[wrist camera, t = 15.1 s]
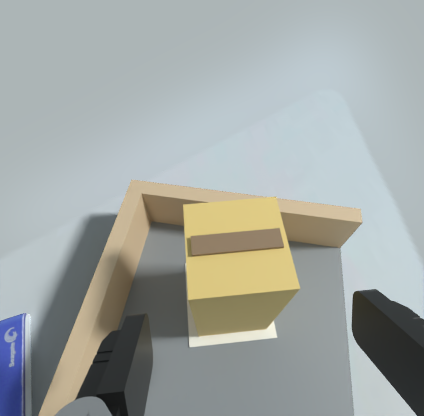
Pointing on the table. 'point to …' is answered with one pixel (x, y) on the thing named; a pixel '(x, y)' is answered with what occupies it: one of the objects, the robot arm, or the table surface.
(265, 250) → the mustard block
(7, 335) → the hard drive
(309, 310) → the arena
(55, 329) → the table surface
